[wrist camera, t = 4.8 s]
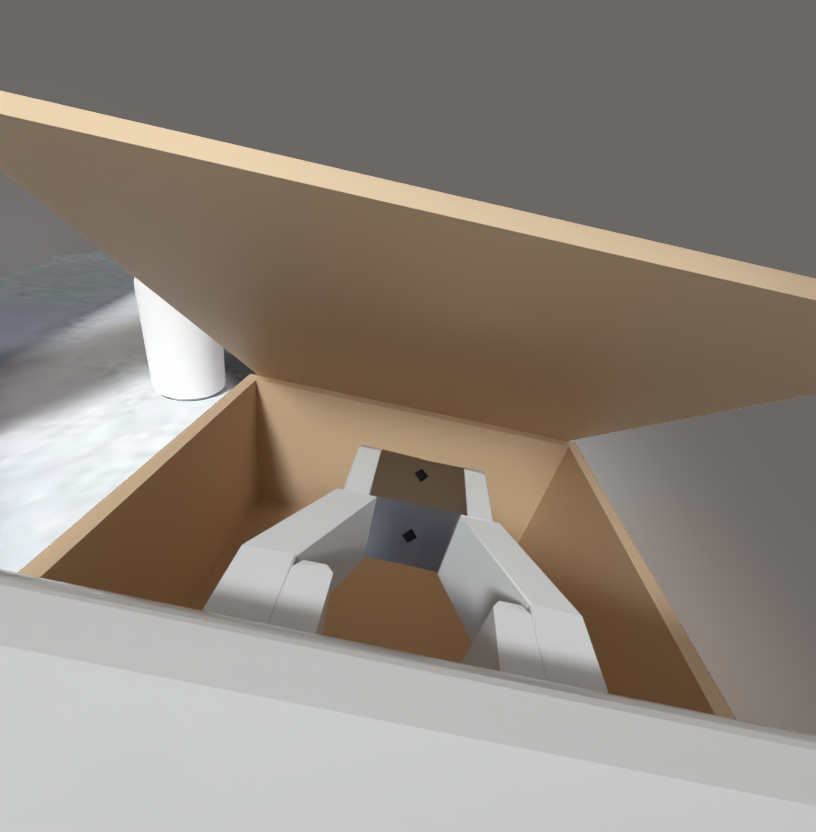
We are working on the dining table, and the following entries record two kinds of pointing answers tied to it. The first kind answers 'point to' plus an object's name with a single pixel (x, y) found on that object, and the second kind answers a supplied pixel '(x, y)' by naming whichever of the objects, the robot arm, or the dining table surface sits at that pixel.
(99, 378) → the dining table surface
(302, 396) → the carton
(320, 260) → the carton flap
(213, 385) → the can
